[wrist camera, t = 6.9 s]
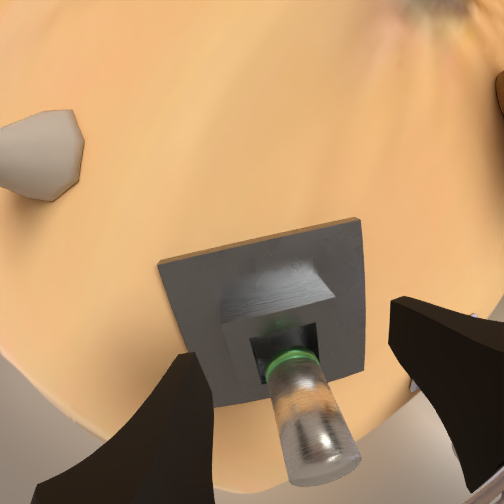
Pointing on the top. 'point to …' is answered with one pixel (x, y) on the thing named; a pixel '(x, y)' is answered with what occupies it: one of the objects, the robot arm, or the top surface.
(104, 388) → the top surface
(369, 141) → the top surface
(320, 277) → the charcoal stand
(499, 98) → the plant pot
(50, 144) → the flask
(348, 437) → the steel column
